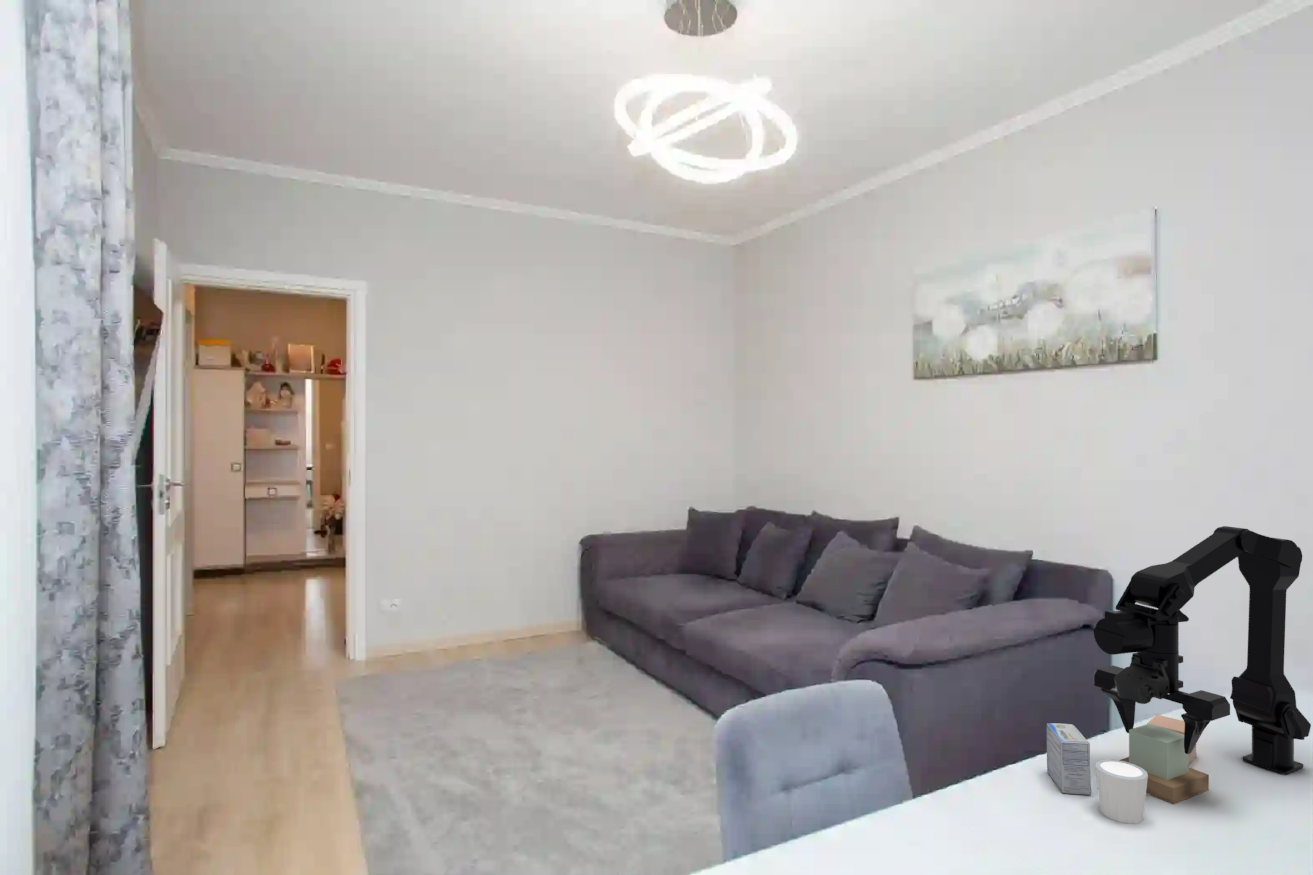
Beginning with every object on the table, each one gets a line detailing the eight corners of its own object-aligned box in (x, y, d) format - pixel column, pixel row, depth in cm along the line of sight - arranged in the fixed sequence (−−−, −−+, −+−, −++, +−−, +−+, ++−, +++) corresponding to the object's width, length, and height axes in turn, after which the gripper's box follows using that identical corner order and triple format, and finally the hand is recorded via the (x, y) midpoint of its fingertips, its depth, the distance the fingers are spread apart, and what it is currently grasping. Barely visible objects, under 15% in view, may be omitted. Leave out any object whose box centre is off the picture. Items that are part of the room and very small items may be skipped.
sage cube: (1150, 757, 128) (1150, 723, 127) (1188, 772, 122) (1188, 735, 122) (1129, 765, 125) (1129, 729, 125) (1167, 780, 119) (1167, 742, 119)
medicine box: (1091, 796, 120) (1091, 742, 120) (1061, 793, 121) (1061, 740, 120) (1074, 774, 127) (1074, 723, 127) (1046, 771, 128) (1045, 721, 128)
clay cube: (1157, 746, 138) (1157, 714, 138) (1196, 757, 134) (1196, 723, 134) (1147, 756, 134) (1147, 723, 134) (1187, 767, 130) (1187, 733, 130)
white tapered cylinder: (1130, 830, 110) (1130, 782, 109) (1085, 809, 116) (1085, 764, 116) (1158, 818, 113) (1157, 772, 113) (1112, 798, 119) (1112, 755, 119)
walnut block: (1145, 765, 130) (1145, 751, 130) (1208, 789, 121) (1208, 774, 121) (1109, 777, 126) (1109, 763, 126) (1173, 804, 117) (1173, 788, 117)
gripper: (1072, 641, 128) (1073, 731, 128) (1191, 672, 111) (1191, 776, 112) (1112, 632, 133) (1112, 720, 133) (1232, 661, 116) (1232, 761, 117)
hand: (1157, 742), depth 123 cm, fingers open, 9 cm apart
